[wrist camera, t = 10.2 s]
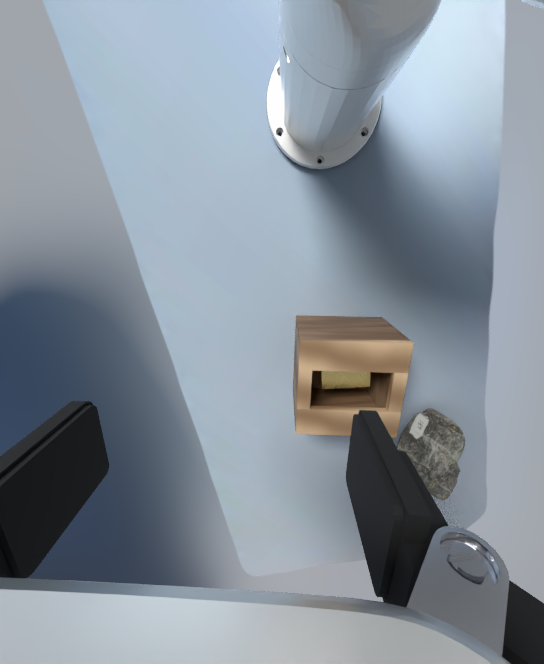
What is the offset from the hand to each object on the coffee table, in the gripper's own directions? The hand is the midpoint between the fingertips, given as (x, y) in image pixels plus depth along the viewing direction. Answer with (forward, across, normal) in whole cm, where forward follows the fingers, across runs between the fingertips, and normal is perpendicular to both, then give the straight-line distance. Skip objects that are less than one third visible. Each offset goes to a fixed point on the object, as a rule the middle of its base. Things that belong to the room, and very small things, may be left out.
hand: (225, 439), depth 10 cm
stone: (+31, -24, +24) cm, 46 cm away
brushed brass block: (+30, -10, +10) cm, 33 cm away
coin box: (+30, -10, +10) cm, 33 cm away
